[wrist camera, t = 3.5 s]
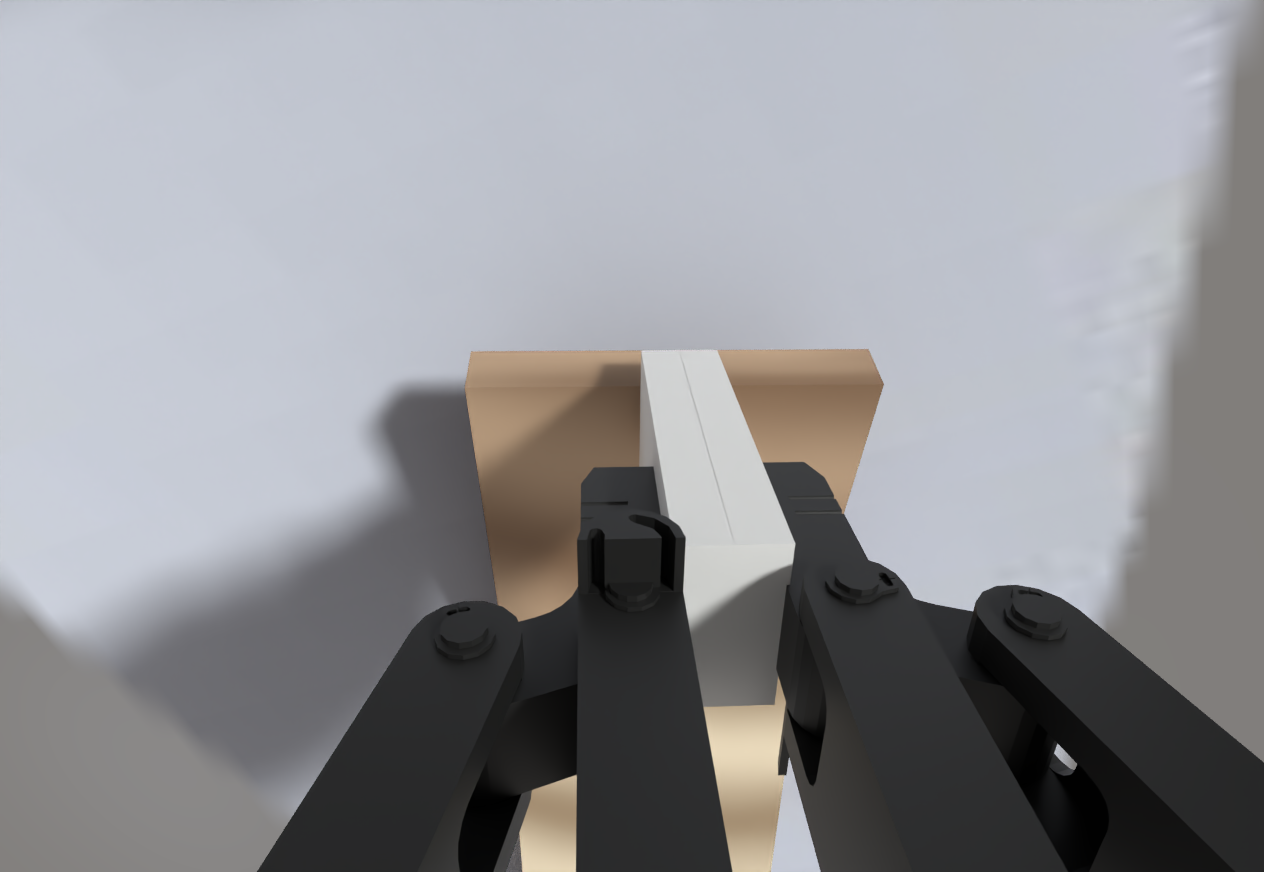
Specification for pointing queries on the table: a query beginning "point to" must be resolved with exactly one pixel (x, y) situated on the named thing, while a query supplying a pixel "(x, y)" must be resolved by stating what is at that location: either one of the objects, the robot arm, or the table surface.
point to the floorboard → (743, 783)
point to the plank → (632, 442)
